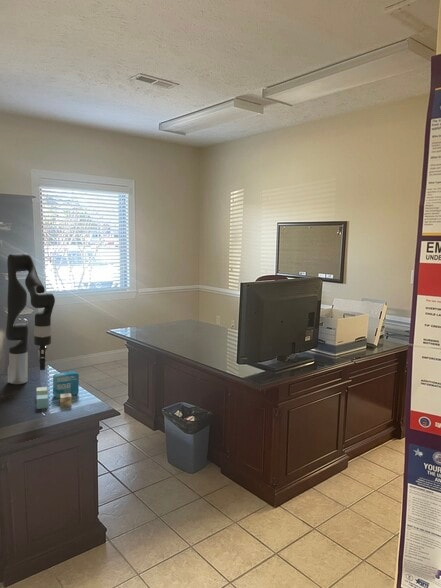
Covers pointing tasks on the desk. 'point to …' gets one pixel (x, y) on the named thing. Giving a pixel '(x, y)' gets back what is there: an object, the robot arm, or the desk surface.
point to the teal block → (42, 401)
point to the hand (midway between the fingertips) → (42, 367)
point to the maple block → (65, 400)
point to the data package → (65, 383)
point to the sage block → (41, 391)
